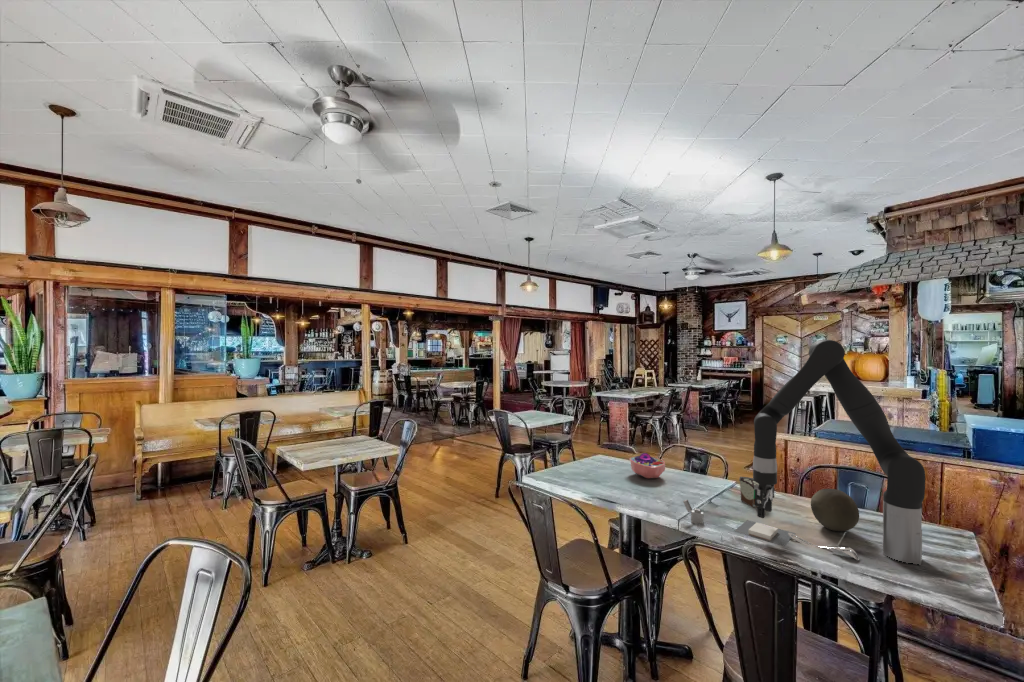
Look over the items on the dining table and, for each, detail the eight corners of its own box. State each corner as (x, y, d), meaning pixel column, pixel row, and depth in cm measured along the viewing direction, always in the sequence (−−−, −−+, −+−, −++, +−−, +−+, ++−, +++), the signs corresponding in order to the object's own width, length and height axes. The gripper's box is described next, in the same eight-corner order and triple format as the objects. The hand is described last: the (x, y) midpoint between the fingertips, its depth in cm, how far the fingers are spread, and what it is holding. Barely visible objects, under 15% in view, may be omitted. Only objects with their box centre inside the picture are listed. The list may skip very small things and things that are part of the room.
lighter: (703, 523, 165) (703, 502, 165) (702, 525, 163) (702, 504, 163) (684, 519, 169) (684, 498, 169) (683, 520, 168) (683, 499, 168)
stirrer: (786, 529, 151) (790, 525, 154) (785, 539, 151) (789, 535, 154) (858, 554, 136) (861, 549, 139) (857, 565, 136) (860, 560, 139)
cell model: (635, 483, 212) (635, 459, 212) (626, 470, 232) (626, 449, 232) (670, 483, 211) (670, 460, 211) (658, 471, 231) (658, 449, 231)
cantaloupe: (816, 519, 169) (816, 481, 169) (862, 531, 158) (862, 490, 158) (806, 530, 159) (806, 489, 159) (854, 543, 149) (854, 500, 149)
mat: (795, 534, 156) (795, 533, 156) (784, 547, 146) (784, 546, 146) (747, 521, 167) (747, 519, 167) (734, 532, 157) (734, 530, 157)
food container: (769, 509, 178) (769, 485, 178) (754, 509, 178) (755, 485, 178) (752, 498, 191) (753, 476, 191) (739, 498, 191) (739, 476, 191)
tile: (778, 528, 156) (770, 536, 150) (778, 532, 156) (770, 540, 150) (756, 522, 161) (748, 529, 155) (756, 526, 161) (748, 534, 155)
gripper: (759, 463, 164) (759, 506, 164) (746, 470, 154) (746, 516, 154) (782, 467, 159) (782, 511, 159) (770, 475, 149) (770, 523, 149)
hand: (764, 514), depth 157 cm, fingers open, 7 cm apart
